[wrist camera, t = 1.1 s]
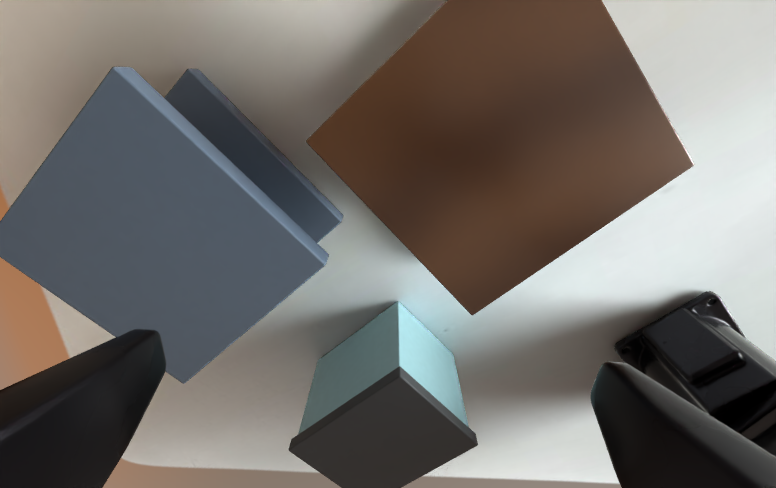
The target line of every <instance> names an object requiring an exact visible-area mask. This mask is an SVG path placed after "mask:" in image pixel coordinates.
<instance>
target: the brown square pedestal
mask: <svg viewBox="0 0 776 488" xmlns="http://www.w3.org/2000/svg"><path fill="white" fill-rule="evenodd" d="M306 143H307V144H308V145H309V146H310V147H311V148H312V149H313V150H314V151H315V152H316V153H317V154H318V155H319V156H320V157H321V158H322V159H323V160H324V161H325V162H326V163H327V165H328V166H329V167H330V168H331V169H332V170H333V171H334V172H335V173H336V174H337V175H338V176H339V177H340V178H341V179H342V180H343V181H344V182H345V183H346V184H347V185H348V186H349V188H350V189H351V190H352V191H353V192H354V193H355V194H356V195H357V196H358V197H359V198H360V199H361V200H362V201H363V202H364V203H365V204H366V205H367V206H368V207H369V208H370V210H371V211H372V212H373V213H374V214H375V215H376V216H377V217H378V218H379V219H380V220H381V221H382V222H383V223H384V224H385V225H386V226H387V227H388V228H389V229H390V230H391V231H392V233H393V234H394V235H395V236H396V237H397V238H398V239H399V240H400V241H401V242H402V243H403V244H404V245H405V246H406V247H407V248H408V249H409V250H410V251H411V252H412V253H413V254H414V256H415V257H416V258H417V259H418V260H419V261H420V262H421V263H422V264H423V265H424V266H425V267H426V268H427V269H428V270H429V271H430V272H431V273H432V274H433V275H434V276H435V278H436V279H437V280H438V281H439V282H440V283H441V284H442V285H443V286H444V287H445V288H446V289H447V290H448V291H449V292H450V293H451V294H452V295H453V296H454V297H455V298H456V299H457V301H458V302H459V303H460V304H461V305H462V306H463V307H464V308H465V309H466V310H467V311H468V312H469V313H470V314H471V315H474V314H475V313H477V312H478V311H480V310H481V309H483V308H484V307H486V306H487V305H489V304H490V303H492V302H493V301H494V300H496V299H497V298H499V297H500V296H502V295H503V294H505V293H506V292H508V291H509V290H511V289H512V288H514V287H515V286H517V285H518V284H520V283H521V282H523V281H524V280H525V279H527V278H528V277H530V276H531V275H533V274H534V273H536V272H537V271H539V270H540V269H542V268H543V267H545V266H546V265H548V264H549V263H551V262H552V261H554V260H555V259H557V258H558V257H559V256H561V255H562V254H564V253H565V252H567V251H568V250H570V249H571V248H573V247H574V246H576V245H577V244H579V243H580V242H582V241H583V240H585V239H586V238H588V237H589V236H590V235H592V234H593V233H595V232H596V231H598V230H599V229H601V228H602V227H604V226H605V225H607V224H608V223H610V222H611V221H613V220H614V219H616V218H617V217H619V216H620V215H621V214H623V213H624V212H626V211H627V210H629V209H630V208H632V207H633V206H635V205H636V204H638V203H639V202H641V201H642V200H644V199H645V198H647V197H648V196H650V195H651V194H653V193H654V192H655V191H657V190H658V189H660V188H661V187H663V186H664V185H666V184H667V183H669V182H670V181H672V180H673V179H675V178H676V177H678V176H679V175H681V174H682V173H684V172H685V171H686V170H688V169H689V168H691V167H692V166H694V163H693V161H692V159H691V158H690V156H689V154H688V152H687V151H686V149H685V147H684V145H683V143H682V142H681V140H680V138H679V136H678V135H677V133H676V131H675V129H674V128H673V126H672V124H671V122H670V120H669V119H668V117H667V115H666V113H665V112H664V110H663V108H662V106H661V105H660V103H659V101H658V99H657V98H656V96H655V94H654V92H653V90H652V89H651V87H650V85H649V83H648V82H647V80H646V78H645V76H644V75H643V73H642V71H641V69H640V67H639V66H638V64H637V62H636V60H635V59H634V57H633V55H632V53H631V52H630V50H629V48H628V46H627V45H626V43H625V41H624V39H623V37H622V36H621V34H620V32H619V30H618V29H617V27H616V25H615V23H614V22H613V20H612V18H611V16H610V14H609V13H608V11H607V9H606V7H605V6H604V4H603V2H602V0H447V1H446V2H445V3H444V4H443V5H442V6H441V7H440V8H439V9H438V10H437V11H436V12H435V13H434V14H433V15H432V16H431V17H430V18H429V19H428V20H427V21H426V22H425V23H424V24H423V25H422V26H421V27H420V28H419V29H418V30H417V31H416V32H415V33H414V34H413V35H412V36H411V37H410V38H409V39H408V40H407V41H406V42H405V43H404V44H403V45H402V46H401V47H400V48H399V49H398V50H397V51H396V52H395V53H394V54H393V55H392V56H391V57H390V58H389V59H388V60H387V61H386V62H385V63H384V64H383V65H382V66H381V67H380V68H379V69H378V70H377V71H376V72H375V73H374V74H373V75H372V76H371V77H370V78H369V79H367V80H366V81H365V82H364V83H363V84H362V85H361V86H360V87H359V88H358V89H357V90H356V91H355V92H354V93H353V94H352V95H351V96H350V97H349V98H348V99H347V100H346V101H345V102H344V103H343V104H342V105H341V106H340V107H339V108H338V109H337V110H336V111H335V112H334V113H333V114H332V115H331V116H330V117H329V118H328V119H327V120H326V121H325V122H324V123H323V124H322V125H321V126H320V127H319V128H318V129H317V130H316V131H315V132H314V133H313V134H312V135H311V136H310V137H309V138H308V139H307V140H306Z"/></svg>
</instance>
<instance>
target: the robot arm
mask: <svg viewBox="0 0 776 488" xmlns="http://www.w3.org/2000/svg"><path fill="white" fill-rule="evenodd" d="M624 348H625V349H624ZM614 349H615V351H616V352H617V353H618V354H619V356H620V357H621V358H622V359H623V361H624V362H625V363H623V362H609V361H608V362H604V363H603V364H602V365H601V367H600V369H599V372H598V374H597V377H596V380H595V382H594V385H593V387H592V390H591V403H592V406H593V409H594V412H595V415H596V418H597V421H598V424H599V427H600V429H601V432H602V435H603V438H604V441H605V444H606V447H607V450H608V452H609V455H610V458H611V461H612V464H613V467H614V470H615V472H616V475H617V477H618V480H619V482H620V485H621V487H622V488H776V361H775V360H774V359H772V358H771V357H770V356H768V355H767V354H766V353H764V352H763V351H762V350H760V349H759V348H758V347H756V346H755V345H754V344H752V343H751V342H750V341H748V340H747V339H746V338H745V336H744V334H743V333H742V331H741V330H740V328H739V326H738V325H737V323H736V322H735V320H734V319H733V317H732V315H731V314H730V312H729V311H728V309H727V307H726V306H725V304H724V303H723V301H722V299H721V298H720V297H719V296H718V295H717V294H715V293H714V292H711V291H709V292H705V293H703V294H701V295H699V296H697V297H696V298H694V299H692V300H690V301H689V302H687V303H685V304H684V305H682V306H680V307H678V308H677V309H675V310H673V311H671V312H670V313H668V314H666V315H664V316H663V317H661V318H659V319H657V320H656V321H654V322H652V323H650V324H649V325H647V326H645V327H643V328H642V329H640V330H638V331H636V332H635V333H633V334H631V335H629V336H628V337H626V338H624V339H623V340H621V341H619V342H618V343H616V345H615V348H614ZM165 370H166V358H165V353H164V349H163V344H162V340H161V336H160V334H159V332H158V331H156V330H149V329H134V330H131V331H129V332H127V333H125V334H123V335H120V336H118V337H116V338H114V339H112V340H110V341H107V342H105V343H103V344H101V345H99V346H96V347H94V348H92V349H90V350H88V351H85V352H83V353H81V354H79V355H77V356H74V357H72V358H70V359H68V360H66V361H63V362H61V363H59V364H57V365H55V366H52V367H50V368H48V369H46V370H44V371H41V372H39V373H37V374H35V375H33V376H31V377H28V378H26V379H24V380H22V381H19V382H17V383H15V384H13V385H11V386H9V387H6V388H4V389H2V390H0V488H102V487H103V486H104V484H105V482H106V481H107V479H108V478H109V476H110V474H111V473H112V471H113V470H114V468H115V466H116V465H117V463H118V462H119V460H120V458H121V457H122V455H123V453H124V452H125V450H126V448H127V447H128V445H129V443H130V441H131V439H132V437H133V435H134V433H135V431H136V429H137V427H138V425H139V423H140V421H141V419H142V417H143V415H144V413H145V412H146V410H147V408H148V406H149V404H150V402H151V400H152V398H153V396H154V394H155V392H156V390H157V388H158V386H159V384H160V382H161V380H162V378H163V376H164V373H165Z"/></svg>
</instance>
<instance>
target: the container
mask: <svg viewBox="0 0 776 488" xmlns="http://www.w3.org/2000/svg"><path fill="white" fill-rule="evenodd" d="M477 445H478V443H477V438H476V434H475V433H474V432H473V431H472V430H471V429H470V428H469V426H468V421H467V417H466V412H465V407H464V402H463V398H462V393H461V388H460V384H459V379H458V374H457V369H456V365H455V360H454V355H453V354H452V353H451V352H450V351H449V350H448V349H447V348H446V347H445V346H444V345H443V344H442V343H441V342H440V341H439V340H438V339H437V338H436V337H435V336H434V335H433V334H432V333H431V332H430V331H429V330H428V329H427V328H426V327H425V326H424V325H423V324H422V323H421V322H419V321H418V320H417V319H416V318H415V317H414V316H413V315H412V314H411V313H410V312H409V311H408V310H407V309H406V308H405V307H404V306H403V305H402V304H401V303H400V302H399V301H397V302H396V303H395V304H393V305H392V306H391V307H389V308H388V309H386V310H385V311H384V312H382V313H381V314H380V315H378V316H377V317H376V318H374V319H373V320H372V321H370V322H369V323H368V324H366V325H365V326H364V327H362V328H361V329H360V330H358V331H357V332H355V333H354V334H353V335H351V336H350V337H349V338H347V339H346V340H345V341H343V342H342V343H341V344H339V345H338V346H337V347H335V348H334V349H333V350H331V351H330V352H329V353H327V354H326V355H325V356H323V357H322V358H320V359H319V360H318V362H317V366H316V370H315V374H314V377H313V381H312V385H311V389H310V392H309V396H308V400H307V403H306V407H305V411H304V415H303V418H302V422H301V426H300V430H299V433H298V435H297V436H295V437H294V438H292V440H291V443H290V446H289V451H290V452H291V453H293V454H294V455H296V456H297V457H298V458H300V459H301V460H303V461H304V462H306V463H307V464H308V465H310V466H311V467H313V468H314V469H316V470H317V471H319V472H320V473H321V474H323V475H324V476H326V477H327V478H329V479H330V480H331V481H333V482H334V483H336V484H337V485H339V486H340V487H341V488H401V487H403V486H405V485H407V484H408V483H410V482H412V481H414V480H416V479H417V478H419V477H421V476H423V475H425V474H427V473H428V472H430V471H432V470H434V469H436V468H437V467H439V466H441V465H443V464H445V463H446V462H448V461H450V460H452V459H454V458H456V457H457V456H459V455H461V454H463V453H465V452H466V451H468V450H470V449H472V448H474V447H475V446H477Z"/></svg>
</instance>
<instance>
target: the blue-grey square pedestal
mask: <svg viewBox="0 0 776 488" xmlns="http://www.w3.org/2000/svg"><path fill="white" fill-rule="evenodd" d="M342 218H343V214H342V213H341V212H340V211H339V210H338V209H337V208H336V207H335V206H334V205H333V204H332V203H331V202H330V201H329V200H328V199H327V198H326V197H325V196H324V195H323V194H322V193H321V192H320V191H319V190H318V189H317V188H316V187H315V186H314V185H313V184H312V183H311V182H310V181H309V180H308V179H307V178H306V177H305V176H304V175H303V174H302V173H301V172H300V171H299V170H298V169H297V168H296V167H295V166H294V165H293V164H292V163H291V162H290V161H289V160H288V159H287V158H286V157H285V156H284V155H283V154H282V153H281V152H280V151H279V150H278V149H277V148H276V147H275V146H274V145H273V144H272V143H271V142H270V141H269V140H268V139H267V138H266V137H265V136H264V135H263V134H262V133H261V132H260V131H259V130H258V129H257V128H256V127H255V126H254V125H253V124H252V123H251V122H250V121H249V120H248V119H247V118H246V117H245V116H244V115H243V114H242V113H241V112H240V111H239V110H238V109H237V108H236V107H235V106H234V105H233V104H232V103H231V102H230V101H229V100H228V99H227V98H226V97H225V96H224V95H223V94H222V93H221V92H220V91H219V90H218V89H217V88H216V87H215V86H214V85H213V84H212V83H211V82H210V81H209V80H208V79H207V78H206V77H205V75H204V74H203V73H202V72H201V71H200V70H198V69H187V70H186V72H185V73H184V74H183V75H182V77H181V78H180V79H179V80H178V82H177V83H176V84H175V85H174V86H173V88H172V89H171V90H170V91H169V93H168V94H167V95H166V96H165V98H163V97H162V96H161V95H160V94H159V93H158V92H157V91H156V90H155V89H154V88H153V87H152V86H151V85H150V84H149V83H148V82H147V81H145V80H144V79H143V78H142V77H141V76H140V75H139V74H138V73H137V72H136V71H135V70H134V69H133V68H131V67H115V66H114V67H112V69H111V70H110V71H109V73H108V74H107V75H106V77H105V78H104V80H103V81H102V82H101V84H100V85H99V86H98V88H97V89H96V90H95V92H94V93H93V95H92V96H91V97H90V99H89V100H88V101H87V103H86V104H85V106H84V107H83V108H82V110H81V111H80V112H79V114H78V115H77V117H76V118H75V119H74V121H73V122H72V123H71V125H70V126H69V128H68V129H67V130H66V132H65V133H64V134H63V136H62V137H61V139H60V140H59V141H58V143H57V144H56V145H55V147H54V148H53V150H52V151H51V152H50V154H49V155H48V156H47V158H46V159H45V161H44V162H43V163H42V165H41V166H40V167H39V169H38V170H37V172H36V173H35V174H34V176H33V177H32V178H31V180H30V181H29V183H28V184H27V185H26V187H25V188H24V189H23V191H22V192H21V194H20V195H19V196H18V198H17V199H16V200H15V202H14V203H13V205H12V206H11V207H10V209H9V210H8V211H7V213H6V214H5V216H4V217H3V218H2V220H1V221H0V257H1V258H2V259H4V260H5V261H7V262H8V263H10V264H11V265H12V266H14V267H16V268H17V269H19V270H20V271H21V272H22V273H24V274H25V275H27V276H28V277H30V278H31V279H33V280H34V281H35V282H37V283H39V284H40V285H41V286H43V287H44V288H46V289H47V290H48V291H50V292H51V293H53V294H54V295H56V296H57V297H59V298H60V299H61V300H63V301H64V302H66V303H67V304H69V305H70V306H72V307H73V308H75V309H76V310H77V311H79V312H80V313H82V314H83V315H85V316H86V317H88V318H89V319H90V320H92V321H93V322H95V323H96V324H98V325H99V326H101V327H102V328H103V329H105V330H106V331H108V332H109V333H111V334H112V335H114V336H115V337H118V336H120V335H123V334H125V333H127V332H129V331H131V330H134V329H149V330H156V331H158V332H159V334H160V336H161V340H162V344H163V349H164V353H165V358H166V370H165V371H166V372H167V373H169V374H170V375H171V376H173V377H174V378H176V379H177V380H179V381H180V382H182V383H183V384H184V383H186V382H187V381H188V380H189V379H191V378H192V377H193V376H194V375H195V374H196V373H198V372H199V371H200V370H201V369H202V368H204V367H205V366H206V365H207V364H208V363H210V362H211V361H212V360H213V359H214V358H216V357H217V356H218V355H219V354H220V353H221V352H223V351H224V350H225V349H226V348H227V347H229V346H230V345H231V344H232V343H233V342H235V341H236V340H237V339H238V338H239V337H241V336H242V335H243V334H244V333H245V332H246V331H248V330H249V329H250V328H251V327H252V326H254V325H255V324H256V323H257V322H258V321H260V320H261V319H262V318H263V317H264V316H266V315H267V314H268V313H269V312H270V311H271V310H273V309H274V308H275V307H276V306H277V305H279V304H280V303H281V302H282V301H283V300H285V299H286V298H287V297H288V296H289V295H291V294H292V293H293V292H294V291H295V290H296V289H298V288H299V287H300V286H301V285H302V284H304V283H305V282H306V281H307V280H308V279H310V278H311V277H312V276H313V275H314V274H316V273H317V272H318V271H319V270H320V269H321V268H323V267H324V266H325V265H326V262H327V260H328V257H329V254H328V253H327V252H326V251H325V250H324V249H323V248H322V247H321V246H320V245H319V244H317V243H318V242H319V241H320V240H321V239H322V238H323V237H325V236H326V235H327V234H328V233H329V232H330V231H331V230H333V229H334V228H335V227H336V226H337V225H338V224H339V223H341V221H342Z"/></svg>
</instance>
